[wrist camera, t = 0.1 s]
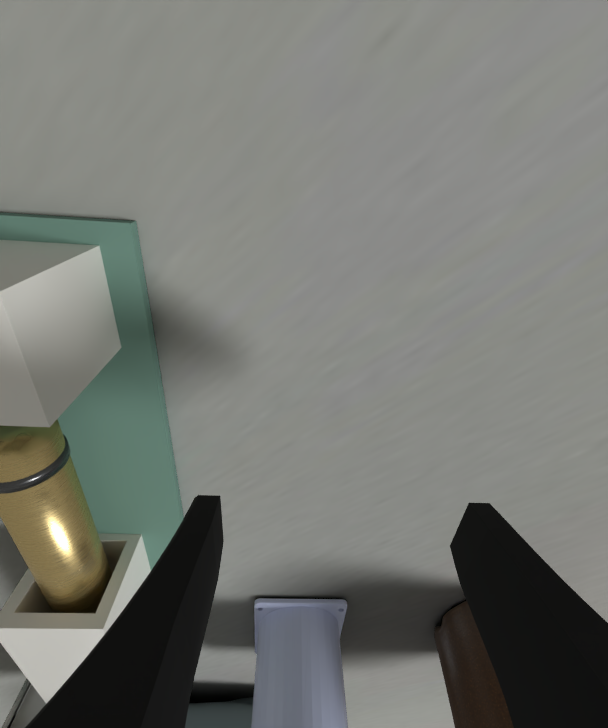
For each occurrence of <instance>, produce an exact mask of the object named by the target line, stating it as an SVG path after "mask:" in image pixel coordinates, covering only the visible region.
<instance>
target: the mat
mask: <svg viewBox="0 0 608 728" xmlns="http://www.w3.org/2000/svg"><path fill="white" fill-rule="evenodd" d="M0 240H15V241H31V242H48V243H65V244H82V245H99V246H100V251H101V255H102V260H103V265H104V269H105V274H106V279H107V283H108V288H109V293H110V297H111V302H112V307H113V311H114V316H115V321H116V325H117V330H118V334H119V339H120V344H121V349H120V350H119V351H118V352H117V353H116V354H115V355H114V357H113V358H112V359H111V360H110V361H109V362H108V363H107V364H106V365H105V367H104V368H103V369H102V370H101V371H100V372H99V373H98V374H97V375H96V377H95V378H94V379H93V380H92V381H91V382H90V383H89V384H88V385H87V387H86V388H85V389H84V390H83V391H82V392H81V393H80V394H79V395H78V397H77V398H76V399H75V400H74V401H73V402H72V403H71V404H70V405H69V406H68V408H67V409H66V410H65V411H64V412H63V413H62V414H61V415H60V416H59V418H58V419H57V420H58V422H59V425H60V428H61V431H62V433H63V434H64V435H65V436H66V438H67V441H68V443H69V446H70V450H71V452H70V456H71V459H72V462H73V464H74V467H75V470H76V473H77V476H78V478H79V481H80V484H81V487H82V490H83V493H84V495H85V498H86V501H87V504H88V507H89V509H90V512H91V515H92V518H93V521H94V523H95V526H96V529H97V532H98V533H101V534H142V538H143V542H144V546H145V550H146V553H147V557H148V561H149V565H150V569H151V570H152V569H153V567H154V566H155V564H156V562H157V561H158V559H159V558H160V556H161V555H162V553H163V552H164V550H165V549H166V547H167V546H168V544H169V542H170V541H171V539H172V537H173V536H174V534H175V533H176V531H177V529H178V528H179V526H180V524H181V522H182V521H183V519H184V517H183V511H182V504H181V498H180V492H179V486H178V479H177V473H176V467H175V461H174V454H173V448H172V442H171V436H170V429H169V423H168V417H167V411H166V404H165V398H164V392H163V386H162V380H161V373H160V367H159V361H158V355H157V348H156V342H155V336H154V330H153V323H152V317H151V311H150V305H149V298H148V292H147V286H146V280H145V273H144V267H143V261H142V255H141V249H140V242H139V236H138V230H137V224H136V221H128V220H112V219H96V218H81V217H65V216H49V215H33V214H17V213H1V212H0ZM0 518H1V517H0ZM4 525H5V524H4ZM5 527H6V526H5ZM10 536H11V535H10ZM11 538H12V537H11ZM15 545H16V544H15ZM16 547H17V546H16ZM20 554H21V553H20ZM21 556H22V555H21ZM26 565H27V564H26Z"/></svg>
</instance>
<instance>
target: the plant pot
mask: <svg viewBox="0 0 608 728" xmlns="http://www.w3.org/2000/svg"><path fill="white" fill-rule="evenodd" d="M434 635H435V641H436V645H437V650H438V654H439V658H440V662H441V666H442V671H443V675H444V679H445V684H446V688H447V693H448V697H449V702H450V706H451V711H452V716H453V720H454V725H455V728H514V727H513V724H512V720H511V717H510V714H509V711H508V707H507V704H506V701H505V698H504V695H503V692H502V689H501V687H500V684H499V681H498V678H497V676H496V673H495V671H494V668H493V666H492V663H491V661H490V658H489V656H488V653H487V650H486V648H485V645H484V643H483V640H482V638H481V635H480V633H479V630H478V628H477V625H476V623H475V620H474V618H473V615H472V613H471V610H470V608H469V605H468V602H467V601H465V602H463V603H461V604H460V605H458V606H456V607H454V608H453V609H451V610H450V611H448V612H447V613H446V614H445V615H444V616H443V620H442V625H441V626H437V627H436V628H435V633H434Z"/></svg>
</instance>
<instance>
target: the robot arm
mask: <svg viewBox="0 0 608 728" xmlns="http://www.w3.org/2000/svg"><path fill="white" fill-rule="evenodd" d="M222 548H223V528H222V514H221V501H220V496H206V495H198V496H197V497H195V498H194V500H193V502H192V504H191V506H190V508H189V510H188V512H187V513H186V515H185V517H184V519H183V521H182V522H181V524H180V526H179V528H178V529H177V531H176V533H175V534H174V536H173V537H172V539H171V541H170V542H169V544H168V546H167V547H166V549H165V550H164V552H163V553H162V555H161V556H160V558H159V559H158V561H157V562H156V564H155V566H154V567H153V569H152V570H151V572H150V573H149V575H148V576H147V577H146V579H145V580H144V582H143V583H142V585H141V586H140V587H139V589H138V590H137V592H136V593H135V594H134V596H133V597H132V598H131V600H130V601H129V603H128V604H127V605H126V607H125V608H124V610H123V611H122V612H121V614H120V615H119V616H118V618H117V619H116V620H115V622H114V623H113V624H112V625H111V627H110V628H109V629H108V631H107V632H106V633H105V634H104V636H103V637H102V638H101V640H100V641H99V642H98V643H97V645H96V646H95V647H94V648H93V649H92V651H91V652H90V653H89V654H88V656H87V657H86V658H85V659H84V661H83V662H82V663H81V664H80V665H79V666H78V668H77V669H76V670H75V671H74V672H73V674H72V675H71V676H70V677H69V678H68V679H67V681H66V682H65V683H64V684H63V685H62V686H61V688H60V689H59V690H58V691H57V692H56V693H55V695H54V696H53V697H52V698H51V699H50V700H49V701H48V703H47V704H46V705H45V706H44V707H43V708H42V709H41V710H40V712H39V713H38V714H37V715H36V716H35V717H34V718H33V719H32V720H31V722H30V723H29V724H28V725H27V726H26V727H25V728H185V724H186V718H187V712H188V706H189V700H190V695H191V690H192V686H193V681H194V676H195V672H196V668H197V664H198V660H199V655H200V651H201V647H202V643H203V639H204V635H205V631H206V627H207V623H208V619H209V614H210V610H211V606H212V602H213V598H214V594H215V590H216V585H217V581H218V575H219V569H220V562H221V555H222ZM450 548H451V551H452V555H453V559H454V563H455V567H456V570H457V574H458V577H459V581H460V584H461V587H462V590H463V592H464V595H465V597H466V600H467V602H468V605H469V608H470V610H471V613H472V615H473V618H474V620H475V623H476V625H477V628H478V630H479V633H480V635H481V638H482V640H483V643H484V645H485V648H486V650H487V653H488V656H489V658H490V661H491V663H492V666H493V668H494V671H495V673H496V676H497V678H498V681H499V684H500V687H501V689H502V692H503V695H504V698H505V701H506V704H507V707H508V711H509V714H510V717H511V720H512V724H513V727H514V728H608V623H607V622H606V621H605V620H604V619H603V618H602V617H601V616H600V615H599V614H598V613H596V612H595V611H594V610H593V609H592V608H591V607H590V606H589V605H588V604H587V603H586V602H585V601H584V600H583V599H582V598H581V597H580V596H579V595H578V594H577V593H576V592H575V591H574V590H573V589H571V588H570V587H569V586H568V585H567V584H566V583H565V582H564V581H563V580H562V579H561V578H560V577H559V576H558V575H557V574H556V573H555V571H554V570H553V569H552V568H551V567H550V566H549V565H548V564H547V563H546V562H545V561H544V560H543V559H542V558H541V557H540V556H539V555H538V554H537V553H536V552H535V551H534V550H533V549H532V548H531V547H530V546H529V545H528V544H527V542H526V541H525V540H524V539H523V538H522V537H521V536H520V535H519V534H518V533H517V532H516V531H515V530H514V529H513V528H512V527H511V526H510V524H509V523H508V522H507V521H506V520H505V519H504V518H503V517H502V516H501V515H500V514H499V513H498V512H497V511H496V510H495V509H494V508H493V507H492V506H491V505H490V504H489V503H469V504H468V506H467V509H466V511H465V513H464V515H463V518H462V520H461V522H460V524H459V527H458V529H457V531H456V534H455V536H454V538H453V540H452V543H451V545H450ZM346 610H347V601H346V600H343V599H272V598H259V599H256V600H255V604H254V621H255V653H256V654H257V658H256V671H255V684H254V697H253V710H252V723H251V728H348V723H347V712H346V701H345V690H344V679H343V669H342V658H341V647H340V636H341V631H342V627H343V623H344V619H345V614H346Z"/></svg>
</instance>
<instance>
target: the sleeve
mask: <svg viewBox="0 0 608 728" xmlns="http://www.w3.org/2000/svg"><path fill="white" fill-rule="evenodd" d="M98 535H99V538H100V540H101V543H102V546H103V549H104V552H105V554H106V557H107V560H108V563H109V566H110V569H111V571H112V577H111V579H110V581H109V583H108V586H107V588H106V590H105V593H104V595H103V597H102V599H101V602H100V604H99V606H98V609H97V611H96V613H53V612H52V610H51V608H50V606H49V604H48V602H47V601H46V599H45V597H44V595H43V593H42V592H41V590H40V588H39V586H38V584H37V582H36V581H35V579H34V577H33V575H32V573H31V572H30V570H29V568H28V569H27V571H26V572H25V574H24V575H23V577H22V578H21V580H20V582H19V583H18V585H17V586H16V588H15V589H14V591H13V592H12V594H11V596H10V597H9V599H8V600H7V602H6V603H5V605H4V606H3V608H2V609H1V611H0V643H1V644H2V646H3V647H4V648H5V650H6V651H7V652H8V654H9V655H10V656H11V658H12V659H13V660H14V662H15V663H16V664H17V666H18V667H19V668H20V670H21V671H22V672H23V673H24V675H25V676H26V677H27V679H28V680H29V681H30V683H31V684H32V685H33V687H34V688H35V689H36V691H37V692H38V693H39V695H40V696H41V697H42V699H43V700H44V701H45V703H46V704H47V703H48V701H49V700H50V699H51V698H52V697H53V696H54V695H55V693H56V692H57V691H58V690H59V689H60V688H61V686H62V685H63V684H64V683H65V682H66V681H67V679H68V678H69V677H70V676H71V675H72V674H73V672H74V671H75V670H76V669H77V668H78V666H79V665H80V664H81V663H82V662H83V661H84V659H85V658H86V657H87V656H88V654H89V653H90V652H91V651H92V649H93V648H94V647H95V646H96V645H97V643H98V642H99V641H100V640H101V638H102V637H103V636H104V634H105V633H106V632H107V631H108V629H109V628H110V627H111V625H112V624H113V623H114V622H115V620H116V619H117V618H118V616H119V615H120V614H121V612H122V611H123V610H124V608H125V607H126V605H127V604H128V603H129V601H130V600H131V598H132V597H133V596H134V594H135V593H136V592H137V590H138V589H139V587H140V586H141V585H142V583H143V582H144V580H145V579H146V577H147V576H148V575H149V573H150V572H151V569H150V565H149V561H148V557H147V553H146V550H145V546H144V542H143V538H142V534H101V533H98Z"/></svg>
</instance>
